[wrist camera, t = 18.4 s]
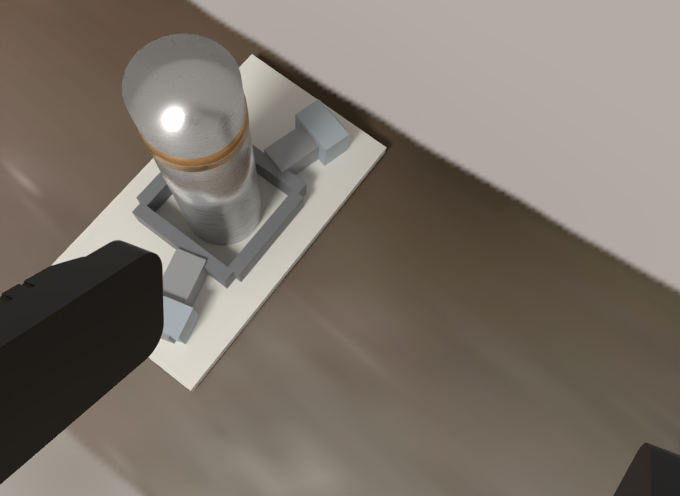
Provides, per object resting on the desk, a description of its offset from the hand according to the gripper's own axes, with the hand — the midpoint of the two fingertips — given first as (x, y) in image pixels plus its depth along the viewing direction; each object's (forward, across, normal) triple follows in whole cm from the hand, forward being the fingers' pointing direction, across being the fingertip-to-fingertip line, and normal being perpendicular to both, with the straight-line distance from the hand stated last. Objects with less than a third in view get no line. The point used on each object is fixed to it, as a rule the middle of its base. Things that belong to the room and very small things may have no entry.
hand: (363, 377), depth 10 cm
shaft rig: (+22, +16, +12) cm, 30 cm away
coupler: (+21, +16, +11) cm, 29 cm away
